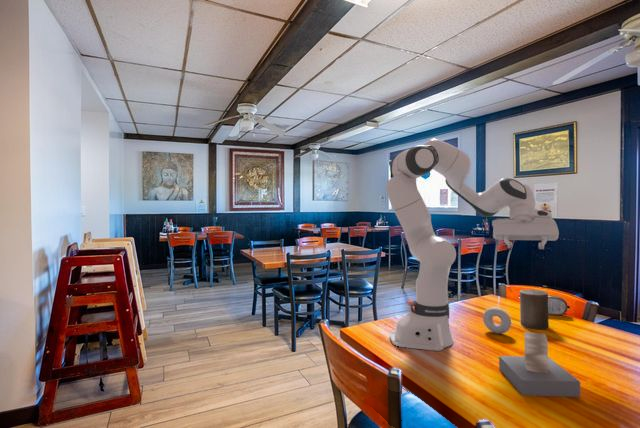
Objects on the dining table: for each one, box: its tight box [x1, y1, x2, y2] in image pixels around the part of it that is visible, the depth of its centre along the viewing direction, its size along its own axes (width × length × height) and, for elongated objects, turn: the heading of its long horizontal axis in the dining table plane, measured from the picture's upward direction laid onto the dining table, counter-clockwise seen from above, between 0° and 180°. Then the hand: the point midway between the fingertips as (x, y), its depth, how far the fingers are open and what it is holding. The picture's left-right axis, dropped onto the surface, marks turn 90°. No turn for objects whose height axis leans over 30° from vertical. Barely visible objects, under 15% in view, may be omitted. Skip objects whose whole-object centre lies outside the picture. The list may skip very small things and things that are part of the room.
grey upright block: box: [523, 331, 549, 374], centre depth 92 cm, size 5×5×9 cm
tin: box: [548, 294, 568, 316], centre depth 148 cm, size 15×3×8 cm, turn 58°
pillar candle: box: [519, 288, 550, 331], centre depth 135 cm, size 10×10×15 cm
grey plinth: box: [498, 355, 581, 398], centre depth 92 cm, size 14×14×4 cm
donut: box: [482, 306, 512, 335], centre depth 128 cm, size 10×4×10 cm, turn 45°
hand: (525, 247), depth 116 cm, fingers open, 8 cm apart
